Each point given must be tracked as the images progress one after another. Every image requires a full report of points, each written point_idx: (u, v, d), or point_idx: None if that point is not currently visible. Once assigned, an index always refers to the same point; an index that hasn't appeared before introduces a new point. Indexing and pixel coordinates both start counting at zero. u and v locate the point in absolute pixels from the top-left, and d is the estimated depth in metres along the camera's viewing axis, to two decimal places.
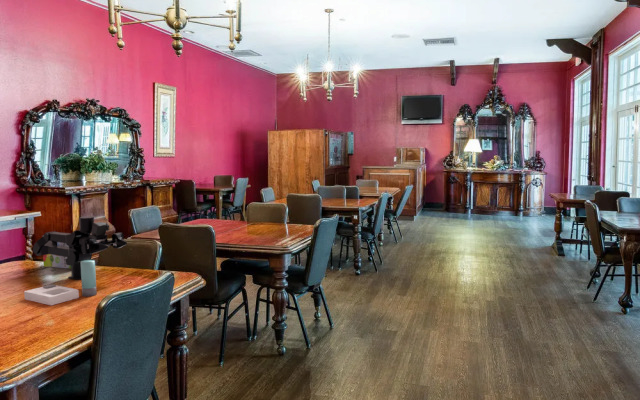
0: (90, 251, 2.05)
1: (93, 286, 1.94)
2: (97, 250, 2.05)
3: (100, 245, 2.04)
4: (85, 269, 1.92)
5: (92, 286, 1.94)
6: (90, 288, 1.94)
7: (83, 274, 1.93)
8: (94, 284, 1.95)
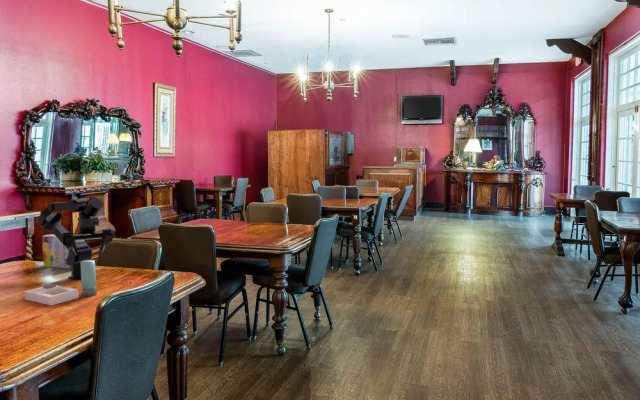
0: (67, 245, 2.07)
1: (93, 286, 1.94)
2: (72, 248, 2.06)
3: (73, 248, 2.04)
4: (85, 269, 1.92)
5: (92, 286, 1.94)
6: (90, 288, 1.94)
7: (83, 274, 1.93)
8: (94, 284, 1.95)
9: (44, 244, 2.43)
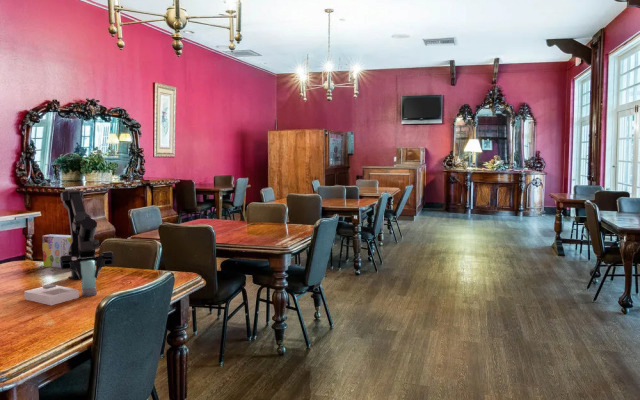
0: (71, 268, 1.96)
1: (93, 286, 1.94)
2: (76, 272, 1.96)
3: (77, 272, 1.94)
4: (85, 269, 1.92)
5: (92, 286, 1.94)
6: (90, 288, 1.94)
7: (83, 274, 1.93)
8: (94, 284, 1.95)
9: (44, 244, 2.43)
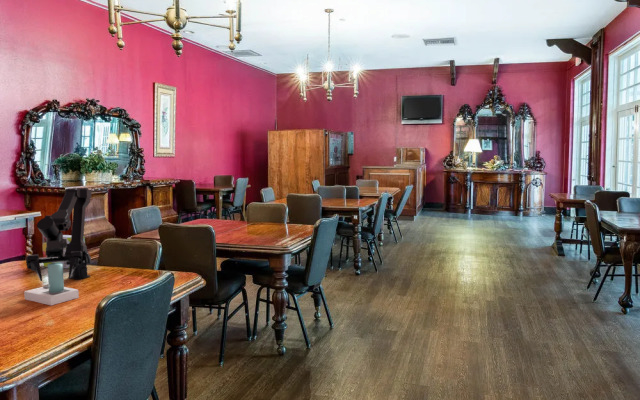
0: (32, 269, 1.89)
1: (60, 290, 1.88)
2: (37, 273, 1.88)
3: (38, 273, 1.86)
4: (52, 273, 1.86)
5: (59, 290, 1.88)
6: (57, 292, 1.87)
7: (50, 278, 1.87)
8: (62, 288, 1.89)
9: (44, 244, 2.43)
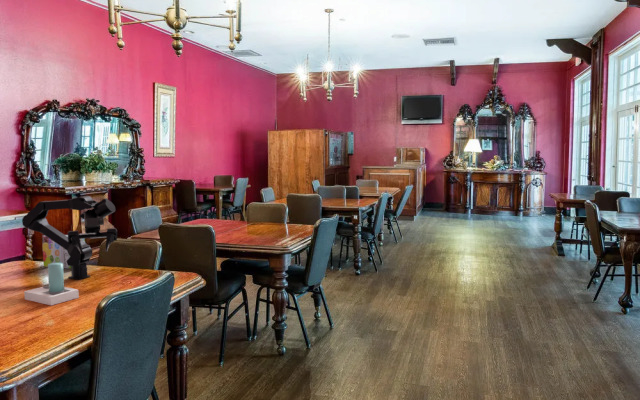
0: (73, 243, 2.10)
1: (60, 290, 1.88)
2: (77, 247, 2.09)
3: (78, 247, 2.07)
4: (52, 272, 1.86)
5: (59, 290, 1.88)
6: (57, 291, 1.87)
7: (50, 277, 1.87)
8: (62, 288, 1.89)
9: (44, 244, 2.43)
